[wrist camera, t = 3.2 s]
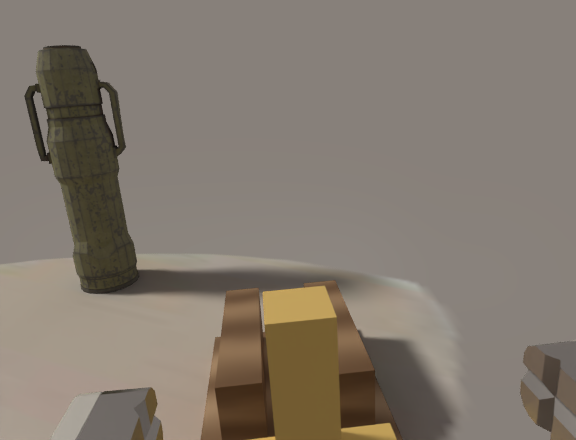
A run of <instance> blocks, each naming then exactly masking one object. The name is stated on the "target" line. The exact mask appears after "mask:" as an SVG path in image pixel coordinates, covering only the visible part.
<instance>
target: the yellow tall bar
mask: <svg viewBox="0 0 576 440" xmlns="http://www.w3.org/2000/svg"><path fill="white" fill-rule="evenodd" d="M263 307H264V324H265V335H266V345H267V356H268V366H269V377H270V388H271V398H272V409H273V419H274V430H275V437H267V438H258V439H250V440H397V439H396V436H395V434H394V432H393V429H392V427H391V424H390V423H384V424H376V425H368V426H359V427H351V428H342V429H341V415H340V389H339V363H338V337H337V316H336V314H335V311H334V309H333V306H332V303H331V301H330V298H329V295H328V293H327V290H326V287H325V286H316V287H306V288H296V289H286V290H276V291H266V292H263Z"/></svg>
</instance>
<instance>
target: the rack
mask: <svg viewBox="0 0 576 440" xmlns="http://www.w3.org/2000/svg"><path fill="white" fill-rule="evenodd" d="M316 286H325V287H326V290H327V293H328V295H329V298H330V301H331V303H332V306H333V309H334V311H335V314H336V316H337V337H338V363H339V389H340V415H341V429H342V428H351V427H359V426H368V425H376V424H384V423H390V424H391V427H392V429H393V432H394V434H395V436H396V439H397V440H403V439H402V437H401V435H400V432H399V430H398V428H397V425H396V423H395V421H394V418H393V416H392V414H391V412H390V409H389V407H388V405H387V402H386V400H385V398H384V395H383V393H382V391H381V389H380V386H379V384H378V382H377V379H376V377H375V369H374V367H373V365H372V363H371V360H370V358H369V356H368V354H367V351H366V349H365V347H364V345H363V342H362V340H361V338H360V336H359V333H358V331H357V329H356V327H355V324H354V322H353V320H352V317H351V315H350V313H349V311H348V308H347V306H346V304H345V302H344V299H343V297H342V295H341V293H340V290H339V288H338V286H337V284H336V281H335V280H333V281H323V282H313V283H304V288H306V287H316ZM267 437H275V430H274V419H273V409H272V398H271V388H270V377H269V366H268V356H267V345H266V335H265V332H263V330H262V319H261V309H260V299H259V288H251V289H241V290H231V291H226V299H225V307H224V315H223V323H222V332H221V337H215V344H214V351H213V358H212V365H211V372H210V379H209V386H208V393H207V400H206V407H205V414H204V421H203V428H202V434H201V440H250V439H258V438H267Z"/></svg>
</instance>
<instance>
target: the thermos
mask: <svg viewBox="0 0 576 440" xmlns="http://www.w3.org/2000/svg"><path fill="white" fill-rule="evenodd" d="M36 74H37V78H38V83H39V84H35V85H34V86H29V87H28V90H27V92H26V94H25V100H26V104H27V108H28V113H29V117H30V121H31V125H32V130H33V134H34V138H35V142H36V146H37V150H38V153H39V156H40V159H41V161H49V164H52V166H53V170H54V175H55V177H56V179H57V180H58V181H59V183H60V184H61V189H62V193H63V197H64V202H65V206H66V210H67V215H68V219H69V224H70V228H71V232H72V237H73V241H74V245H75V246H74V252H73V259H74V263H75V268H76V272H77V274H78V276H79V278H80V282H81V289H82V290H83V291H84V292H87V293H96V294H98V293H107V292H112V291H116V290H119V289H122V288H125V287H127V286H129V285H131V284H133V283H134V282H135V281H136V280H137V279H138V277H139V276H138V270H137V267H136V263H137V259H136V254H135V249H134V243H133V241H132V239H131V237H130V235H129V234H128V231H127V225H126V220H125V214H124V209H123V204H122V198H121V193H120V188H119V182H118V177H117V176H118V172H119V165H118V159H117V156H118V155H120V154H121V153H122V152H123V150H124V149H125V148H126V145H125V141H124V135H123V129H122V122H121V115H120V108H119V101H118V94H117V91H116V90H115V89H114V88H113V87H112V86H111V85H110V84H109V83H107V82H100V80H98V76H97V71H96V68H95V66H94V64H93V62H92V60H91V58H90V56H89V54H88V52H87V50H86V49H81V47H80V46H67V45H64V46H63V45H62V46H47V47H44V48H43V50H40V51H38V57H37V66H36ZM101 88H105V89H106V90H107V91H108V92H109V95H110V101H111V107H112V111H113V118H114V123H115V128H116V134H117V139H118V145H119V147H117V146H115V143H114V138H113V134H112V132H111V130H110V128H109V126H108V124H107V122H106V118H105V115H104V114H103V110H102V105H101V104H102V97H101V92H100V89H101ZM35 91H37V92H39V93H41V96H42V100H43V105H44V108H46V111H47V115H48V119H47V122H48V127H49V128H48V136H47V144H48V148H49V153H47V155H46V151H45V147H44V143H43V138H42V135H41V130H40V126H39V121H38V117H37V113H36V108H35V104H34V100H33V96H34V94H35Z"/></svg>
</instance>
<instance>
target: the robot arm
mask: <svg viewBox="0 0 576 440" xmlns="http://www.w3.org/2000/svg"><path fill="white" fill-rule="evenodd" d="M523 363H524V365H525V366H526V367H527V368H528V372H527V373H526V374H525V375H524V377H523V378H522V379H521V389H520V394H521V398H522V401H523V405H524V407H525V409H526V411H527V413H528V415H529V416H530V417H531V419H532V420H533V421H534V422H535V424H536V425H538V426H540V427H542V428H544V429H546V430H547V431H549V432H551V439H550V440H576V340H572V341H568V342H559V343H551V344H542V345H534V346H528V347H527V348H526V350H525V352H524V358H523ZM156 407H157V399H156V395H155V391H154V390H153V389H152V388H151V387H149V388H138V389H126V390H115V391H104V392H95V393H85V394H79V395H78V396H76V397H75V398H74V399H73V400H72V402H71V404H70V406H69V407H68V409H67V411H66V413H65V414H64V416H63V418H62V419H61V421H60V423H59V425H58V426H57V428H56V430H55V431H54V433H53V435H52V437H51V438H50V440H163V431H162V425H161V421H160V420H159V419H158V418H157V417H155V416H154V414H155V411H156Z"/></svg>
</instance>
